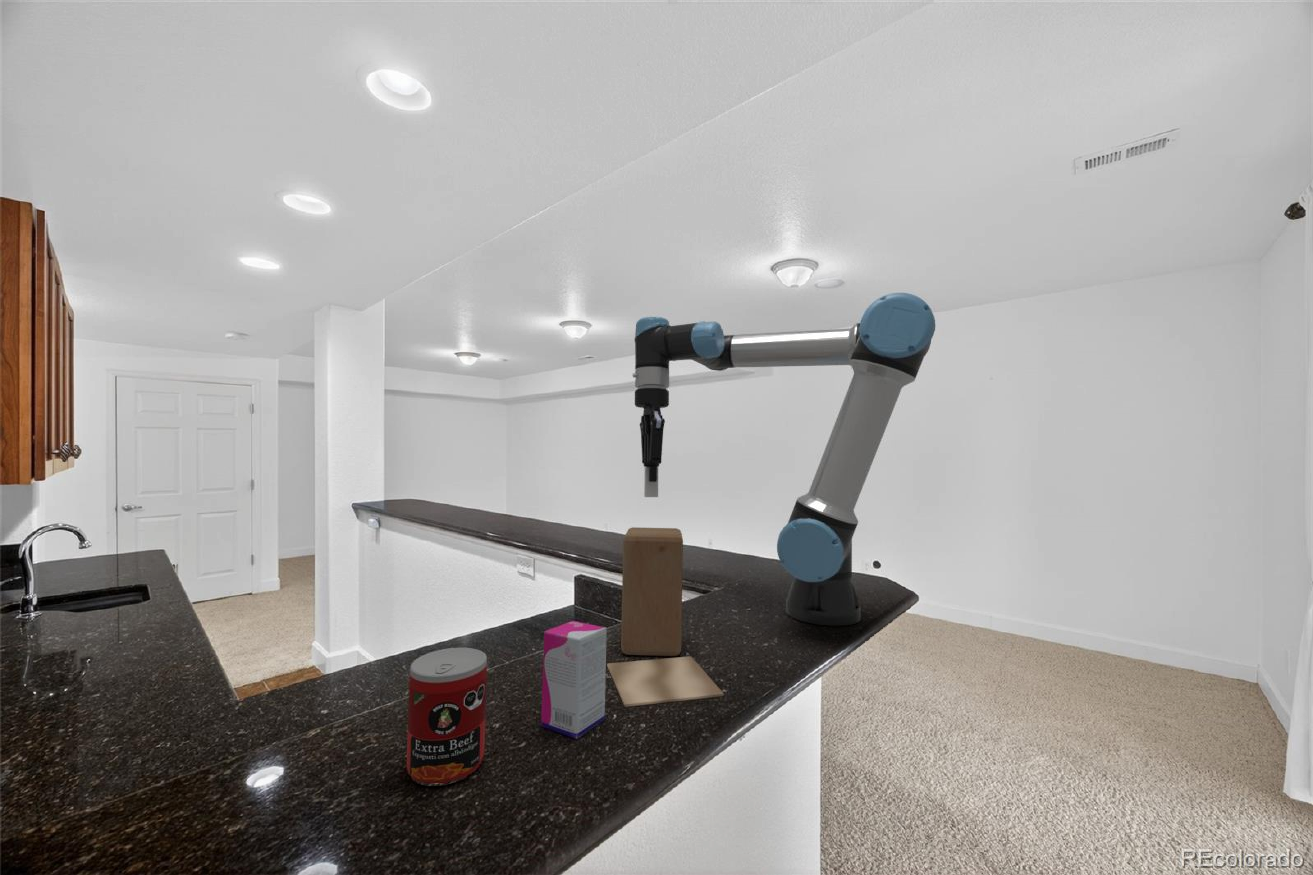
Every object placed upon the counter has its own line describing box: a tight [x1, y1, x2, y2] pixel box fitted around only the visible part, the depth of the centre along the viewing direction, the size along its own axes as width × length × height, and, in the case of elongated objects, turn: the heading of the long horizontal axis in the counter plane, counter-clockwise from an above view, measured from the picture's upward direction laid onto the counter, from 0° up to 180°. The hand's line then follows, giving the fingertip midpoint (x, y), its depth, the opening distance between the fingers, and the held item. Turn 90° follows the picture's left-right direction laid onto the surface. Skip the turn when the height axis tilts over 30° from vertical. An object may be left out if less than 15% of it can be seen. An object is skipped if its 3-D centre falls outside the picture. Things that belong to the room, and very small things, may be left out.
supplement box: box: [540, 620, 608, 740], centre depth 65 cm, size 6×6×12 cm
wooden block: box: [620, 526, 684, 657], centre depth 92 cm, size 10×10×20 cm
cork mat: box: [606, 656, 725, 708], centre depth 78 cm, size 14×14×1 cm
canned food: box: [406, 647, 488, 783], centre depth 56 cm, size 8×8×11 cm
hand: (651, 496), depth 115 cm, fingers closed
